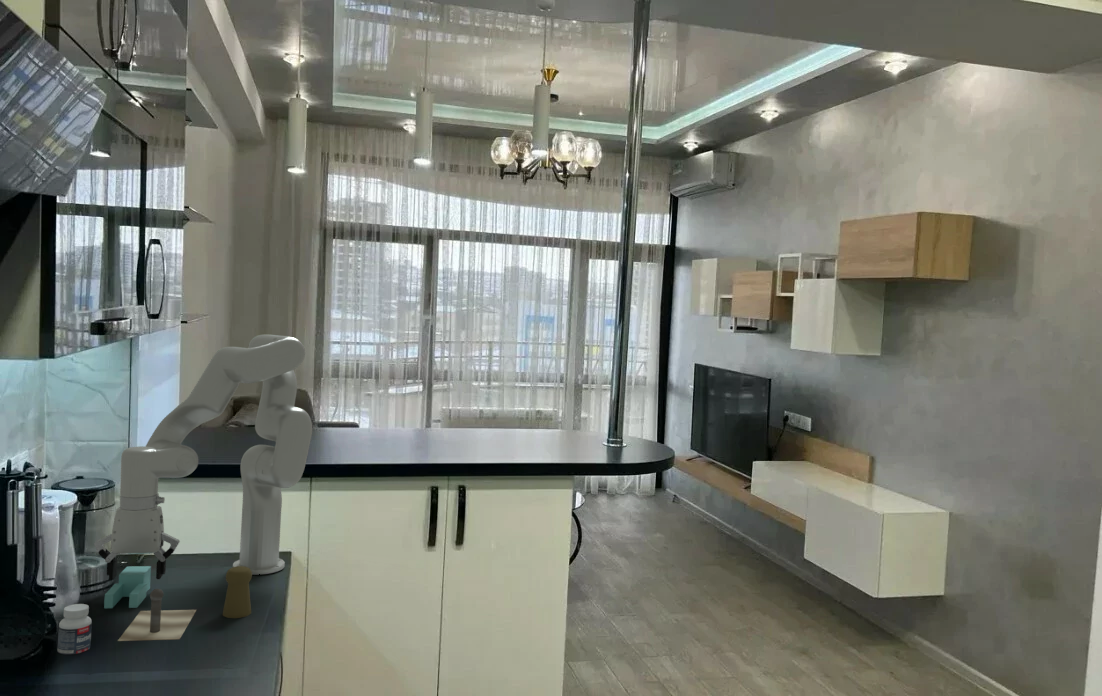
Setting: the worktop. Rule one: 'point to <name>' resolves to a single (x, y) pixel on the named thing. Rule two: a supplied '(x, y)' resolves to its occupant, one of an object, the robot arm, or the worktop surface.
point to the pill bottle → (74, 630)
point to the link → (130, 586)
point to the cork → (237, 592)
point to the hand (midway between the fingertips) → (136, 577)
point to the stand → (158, 622)
